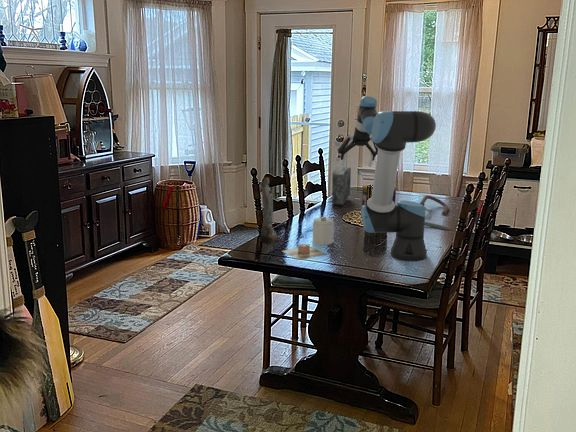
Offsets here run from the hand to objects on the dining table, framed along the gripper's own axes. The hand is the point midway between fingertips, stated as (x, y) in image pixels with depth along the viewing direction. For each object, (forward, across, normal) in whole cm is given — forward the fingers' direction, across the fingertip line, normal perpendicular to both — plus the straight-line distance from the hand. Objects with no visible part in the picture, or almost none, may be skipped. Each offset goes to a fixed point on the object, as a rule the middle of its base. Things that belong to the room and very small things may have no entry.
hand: (355, 165), depth 272 cm
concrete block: (+52, -4, -33) cm, 62 cm away
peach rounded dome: (+9, +30, +53) cm, 61 cm away
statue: (+21, +43, +34) cm, 59 cm away
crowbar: (+29, -32, +12) cm, 45 cm away
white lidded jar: (+16, +19, +40) cm, 47 cm away
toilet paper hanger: (+40, -52, -12) cm, 67 cm away
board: (+10, +30, +53) cm, 62 cm away
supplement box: (+39, -20, -9) cm, 45 cm away
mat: (+16, +19, +40) cm, 47 cm away
